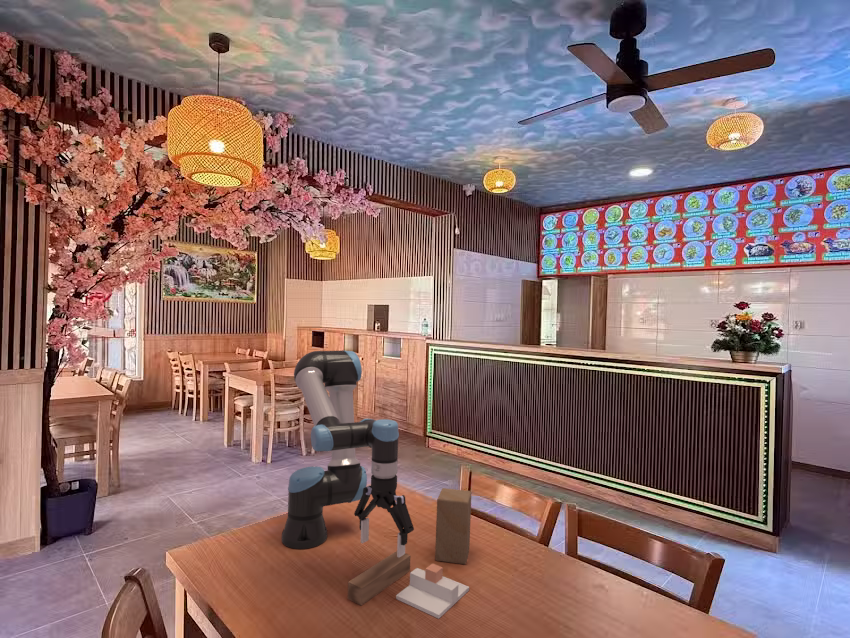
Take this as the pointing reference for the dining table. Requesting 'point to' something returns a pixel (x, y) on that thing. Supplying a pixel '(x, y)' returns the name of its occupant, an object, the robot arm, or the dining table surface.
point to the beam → (378, 578)
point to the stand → (432, 591)
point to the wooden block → (453, 526)
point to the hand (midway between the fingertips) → (382, 548)
